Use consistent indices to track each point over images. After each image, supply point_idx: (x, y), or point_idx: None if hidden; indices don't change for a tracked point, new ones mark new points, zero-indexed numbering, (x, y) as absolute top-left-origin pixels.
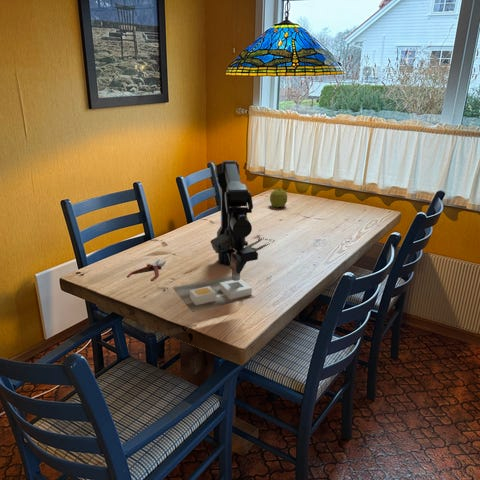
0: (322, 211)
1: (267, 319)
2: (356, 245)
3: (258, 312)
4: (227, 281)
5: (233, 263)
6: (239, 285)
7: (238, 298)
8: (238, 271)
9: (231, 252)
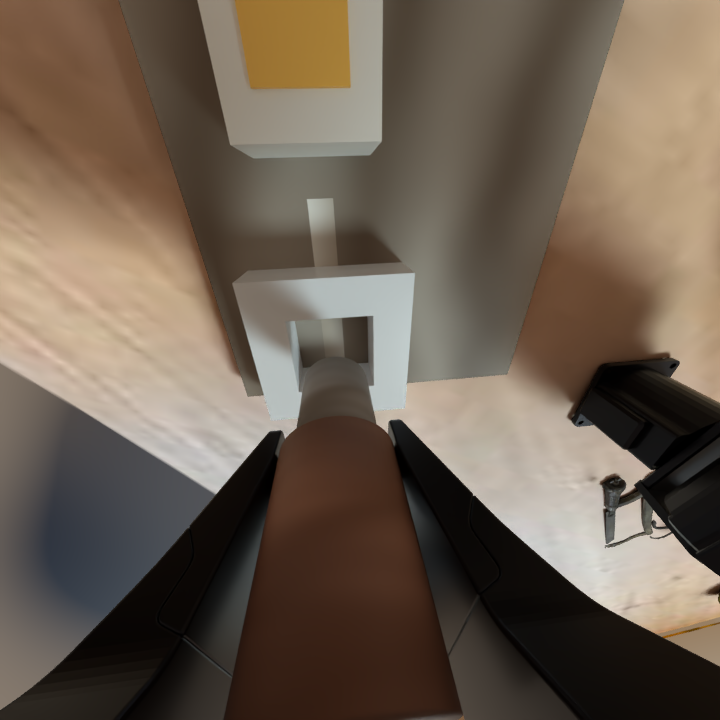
0: None
1: (59, 373)
2: None
3: (135, 361)
4: (405, 330)
5: (287, 511)
6: None
7: None
8: (257, 455)
9: (497, 686)
